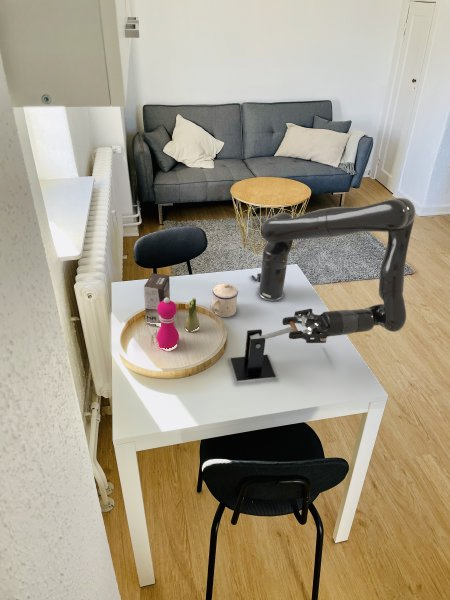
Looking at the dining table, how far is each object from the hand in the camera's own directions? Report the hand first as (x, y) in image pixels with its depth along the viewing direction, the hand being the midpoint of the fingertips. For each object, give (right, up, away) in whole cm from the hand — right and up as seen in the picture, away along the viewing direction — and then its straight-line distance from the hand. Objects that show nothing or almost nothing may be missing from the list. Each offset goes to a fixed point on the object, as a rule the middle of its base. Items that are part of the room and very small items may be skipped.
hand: (286, 328), depth 135 cm
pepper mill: (-37, -7, +14) cm, 40 cm away
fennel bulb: (-29, -2, +22) cm, 37 cm away
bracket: (-10, -14, +8) cm, 18 cm away
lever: (-3, -3, +1) cm, 5 cm away
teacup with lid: (-19, +4, +32) cm, 37 cm away
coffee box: (-42, +2, +27) cm, 50 cm away
